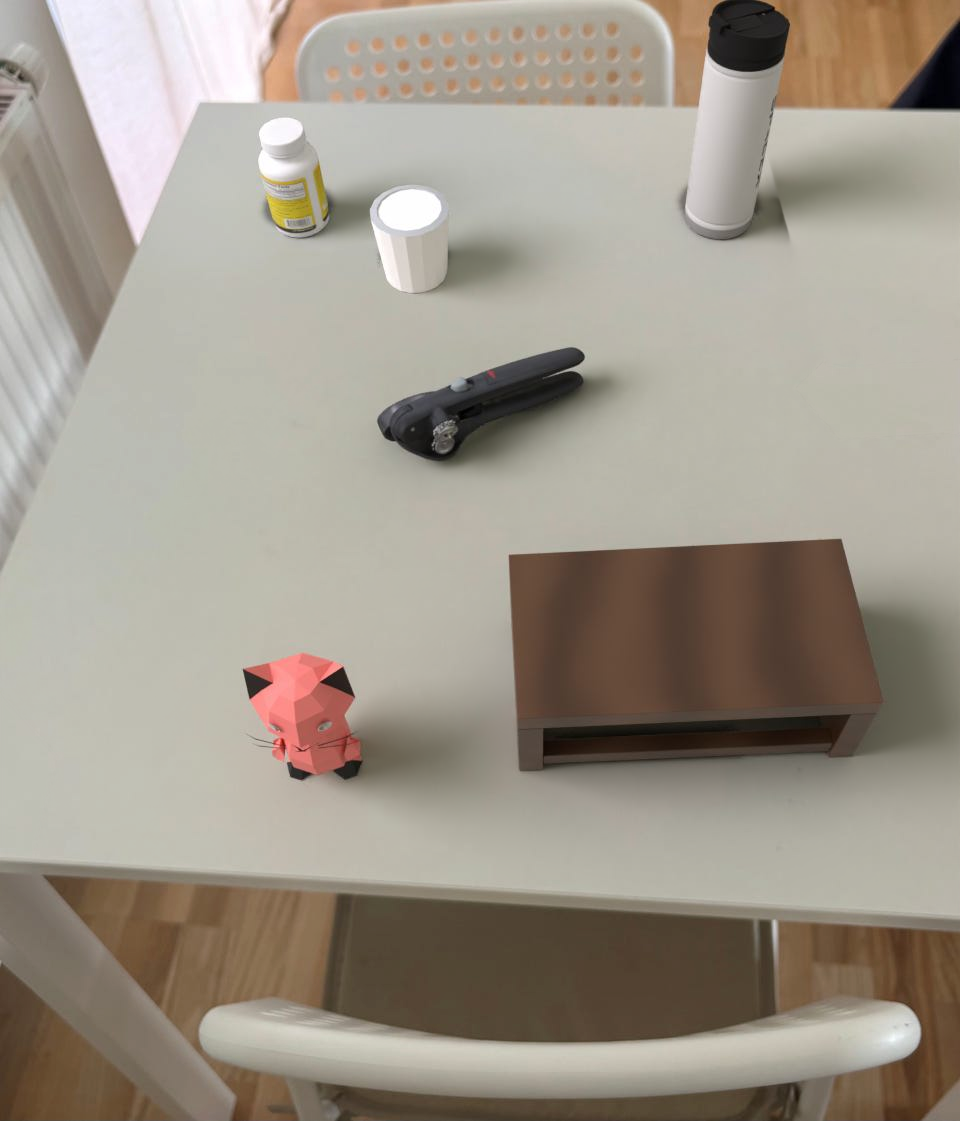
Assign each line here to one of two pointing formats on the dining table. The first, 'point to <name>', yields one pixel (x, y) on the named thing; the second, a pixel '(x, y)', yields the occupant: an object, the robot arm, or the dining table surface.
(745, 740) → the shelf
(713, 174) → the travel mug
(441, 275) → the shot glass
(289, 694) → the cat figurine
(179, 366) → the dining table surface
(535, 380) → the can opener
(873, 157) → the dining table surface
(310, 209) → the supplement bottle
